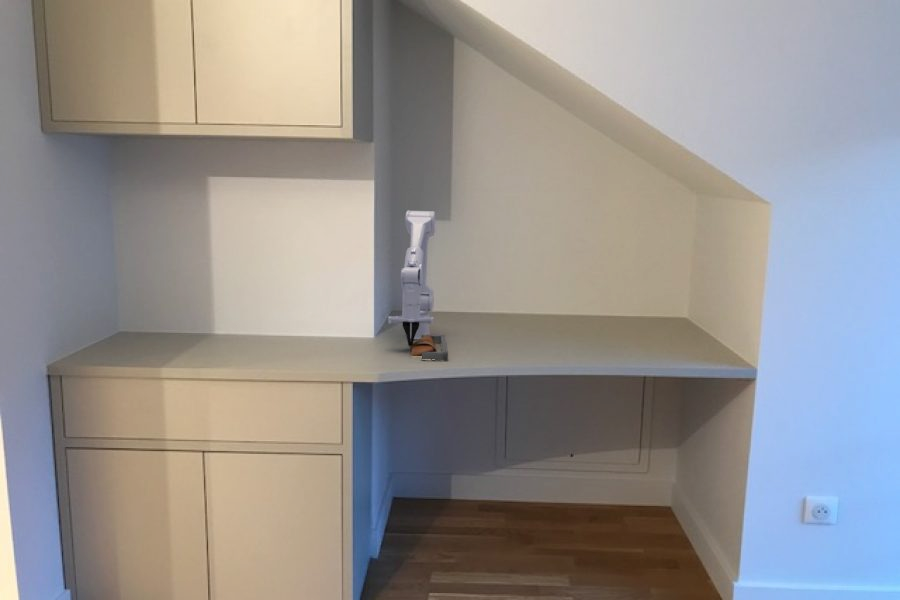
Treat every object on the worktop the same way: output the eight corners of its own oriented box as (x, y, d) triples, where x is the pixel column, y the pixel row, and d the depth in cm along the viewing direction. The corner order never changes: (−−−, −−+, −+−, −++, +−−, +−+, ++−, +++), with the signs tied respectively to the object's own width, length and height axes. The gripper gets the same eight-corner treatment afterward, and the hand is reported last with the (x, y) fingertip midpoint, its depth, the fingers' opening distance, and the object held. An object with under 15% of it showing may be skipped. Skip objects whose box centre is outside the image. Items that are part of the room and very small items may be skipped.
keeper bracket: (421, 342, 240) (421, 334, 240) (444, 342, 241) (444, 335, 240) (421, 360, 217) (421, 352, 216) (447, 361, 217) (447, 353, 217)
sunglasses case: (407, 343, 237) (417, 327, 237) (424, 354, 239) (435, 337, 238) (410, 357, 220) (421, 340, 219) (429, 368, 221) (440, 351, 221)
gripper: (388, 305, 221) (387, 347, 224) (434, 306, 222) (433, 348, 225) (388, 301, 228) (388, 342, 231) (433, 302, 229) (432, 343, 232)
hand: (410, 345), depth 228 cm, fingers closed
